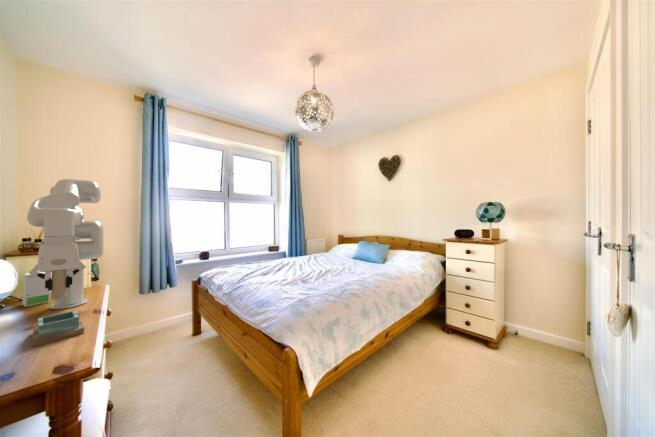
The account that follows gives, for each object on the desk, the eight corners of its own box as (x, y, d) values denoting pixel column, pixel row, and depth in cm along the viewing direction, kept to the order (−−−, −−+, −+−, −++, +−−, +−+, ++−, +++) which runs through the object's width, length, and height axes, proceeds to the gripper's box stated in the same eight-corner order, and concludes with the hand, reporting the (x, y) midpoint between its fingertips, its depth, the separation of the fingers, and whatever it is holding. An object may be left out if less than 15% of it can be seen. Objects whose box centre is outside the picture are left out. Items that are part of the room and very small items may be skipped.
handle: (47, 302, 82) (47, 261, 82) (50, 297, 87) (51, 258, 87) (67, 299, 85) (67, 259, 85) (69, 295, 90) (70, 257, 90)
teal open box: (32, 333, 86) (33, 317, 86) (79, 322, 95) (79, 308, 95) (32, 346, 77) (32, 329, 77) (83, 333, 87) (84, 317, 87)
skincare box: (24, 307, 110) (24, 275, 110) (22, 304, 113) (22, 273, 113) (51, 302, 117) (51, 271, 117) (48, 299, 120) (49, 270, 120)
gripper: (89, 238, 95) (89, 282, 95) (23, 241, 82) (22, 291, 82) (92, 239, 90) (91, 285, 91) (22, 243, 77) (21, 296, 77)
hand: (59, 288), depth 86 cm, fingers closed on handle, 3 cm apart
